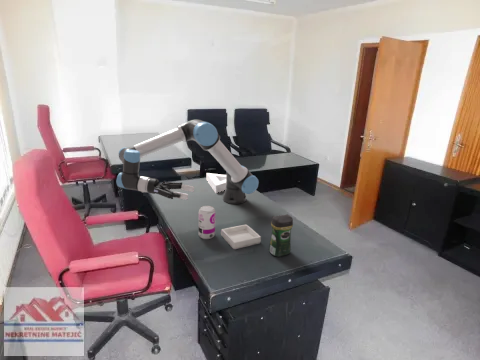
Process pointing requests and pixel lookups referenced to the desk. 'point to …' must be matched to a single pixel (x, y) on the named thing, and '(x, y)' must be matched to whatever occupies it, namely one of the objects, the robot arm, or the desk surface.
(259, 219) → the desk surface
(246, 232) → the tray
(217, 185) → the triangle block
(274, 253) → the coffee jar
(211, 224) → the supplement can
